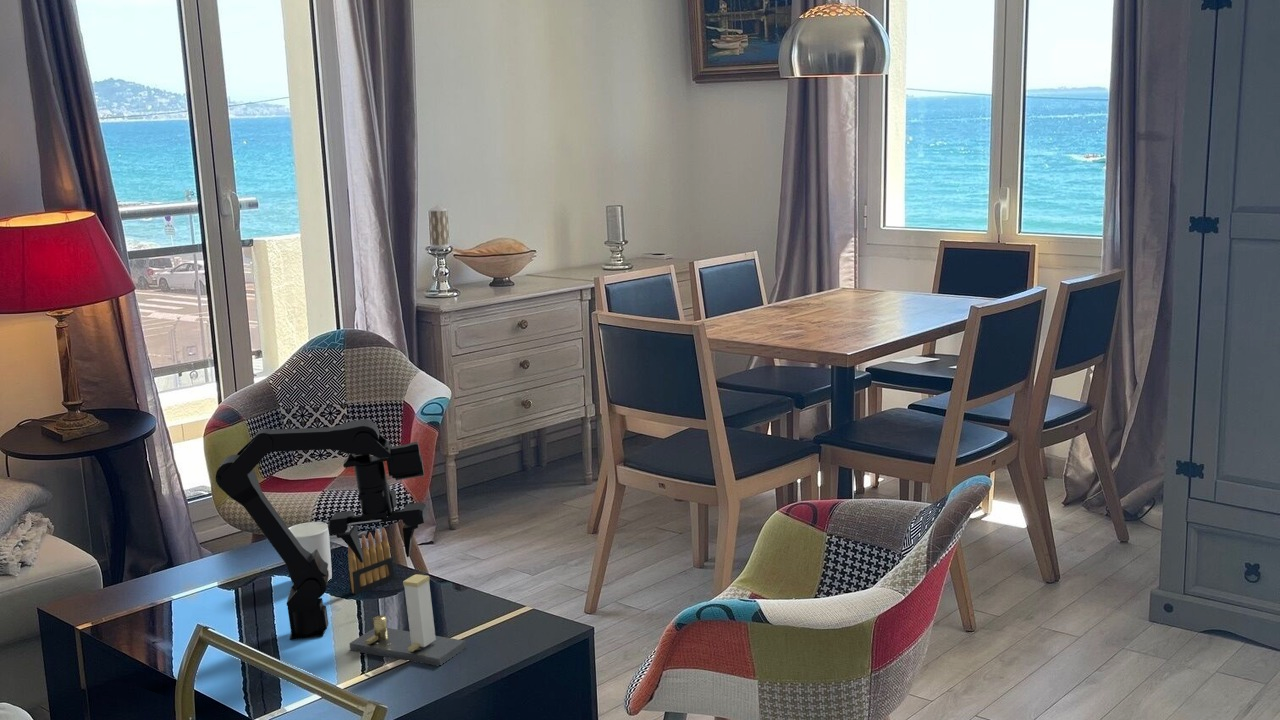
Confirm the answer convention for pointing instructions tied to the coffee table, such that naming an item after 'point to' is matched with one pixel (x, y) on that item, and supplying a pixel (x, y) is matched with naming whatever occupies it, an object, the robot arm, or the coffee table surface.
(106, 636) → the coffee table surface
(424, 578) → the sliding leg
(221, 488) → the robot arm
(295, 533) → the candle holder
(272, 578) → the coffee table surface
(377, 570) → the ammunition clip
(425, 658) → the plate
